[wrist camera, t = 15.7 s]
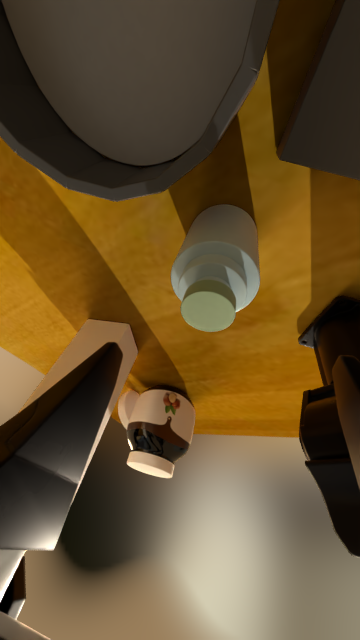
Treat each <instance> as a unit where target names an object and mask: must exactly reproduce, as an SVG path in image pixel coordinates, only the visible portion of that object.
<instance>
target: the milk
mask: <svg viewBox="0 0 360 640" xmlns="http://www.w3.org/2000/svg"><path fill="white" fill-rule="evenodd" d="M107 342H116V343H117V344H118V345H119V347H120V349H121V351H122V353H123V359H122V363H121V366H120V370H119V374H118V378H117V382H116V385H115V388H114V391H113V394H112V396H111V399H110V402H109V404H108V407H107V410H106V412H105V415H104V418H103V420H102V423H101V426H100V428H99V431H98V434H97V436H96V439H95V442H94V444H93V447H92V450H91V452H90V455H89V458H88V460H87V463H86V466H85V468H84V471H83V474H82V476H81V479H80V482H79V485H80V483H81V481H82V479H83V476H84V474H85V472H86V469H87V467H88V465H89V463H90V461H91V458H92V456H93V453H94V451H95V449H96V447H97V445H98V442H99V440H100V438H101V435H102V433H103V431H104V429H105V427H106V424H107V422H108V420H109V417H110V415H111V413H112V411H113V408H114V406H115V404H116V402H117V399H118V397H119V395H120V393H121V390H122V388H123V386H124V384H125V381H126V379H127V377H128V375H129V372H130V370H131V368H132V366H133V363H134V361H135V359H136V356H137V354H138V350H137V347H136V344H135V341H134V338H133V334H132V331H131V328H130V325H129V324H125V323H117V322H109V321H101V320H93V319H87V321H86V322H85V323H84V325H83V326H82V327H81V329H80V330H79V331H78V333H77V334H76V335H75V337H74V338H73V340H72V341H71V342H70V344H69V345H68V346H67V348H66V349H65V350H64V352H63V353H62V354H61V356H60V357H59V358H58V360H57V361H56V362H55V364H54V365H53V366H52V368H51V369H50V371H49V372H48V373H47V375H46V376H45V377H44V379H43V380H42V381H41V383H40V384H39V385H38V387H37V388H36V389H35V391H34V392H33V394H32V395H31V396H30V398H29V399H28V400H27V402H26V403H25V404H24V406H23V407H22V408H21V410H20V411H19V412H21V411H22V410H23V409H24V408H26V407H27V406H28V405H30V404H31V403H32V402H33V401H35V400H36V399H37V398H39V397H40V396H41V395H42V394H43V393H45V392H46V391H47V390H48V389H50V388H51V387H52V386H53V385H55V384H56V383H57V382H58V381H60V380H61V379H62V378H63V377H64V376H66V375H67V374H68V373H69V372H71V371H72V370H73V369H74V368H76V367H77V366H78V365H79V364H81V363H82V362H83V361H84V360H86V359H87V358H88V357H89V356H91V355H92V354H93V353H94V352H96V351H97V350H98V349H99V348H101V347H102V346H103V345H104V344H106V343H107ZM19 412H18V413H19ZM79 485H78V487H77V490H78V488H79ZM77 490H76V492H77ZM75 494H76V493H75ZM74 497H75V495H74ZM73 499H74V498H73ZM72 501H73V500H72Z"/></svg>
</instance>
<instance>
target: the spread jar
mask: <svg viewBox="0 0 360 640" xmlns="http://www.w3.org/2000/svg"><path fill="white" fill-rule="evenodd" d="M118 413H119V417H120V420H121V422H122V424H123V426H124V427H125V428H126V429H127V439H128V442H129V445H130V447H131V449H132V451H131V452H130V454H129V457H128V460H127V465H129V466H130V467H132V468H134V469H136V470H138V471H141V472H144V473H147V474H150V475H154V476H158V477H163V478H171V477H172V475H173V470H174V463H175V462H176V461H177V460H179V459H180V458H181V457H183V456H184V455H185V453H186V452H187V451H188V448H189V447H190V443H191V440H192V435H193V429H194V423H195V409H194V406H193V403H192V402H191V400H190V398H189V397H188V396H187V395H186V394H185V393H184V392H183V391H181V390H180V389H178V388H175V387H172V386H168V385H157V386H153V387H151V388H149V389H147V390H146V391H144V392H143V393H142V394H141V395H139V394H138V393H137V392H136V391H133V390H130V391H128V392H125V393H123V394H122V395H121V397H120V399H119V402H118Z"/></svg>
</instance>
